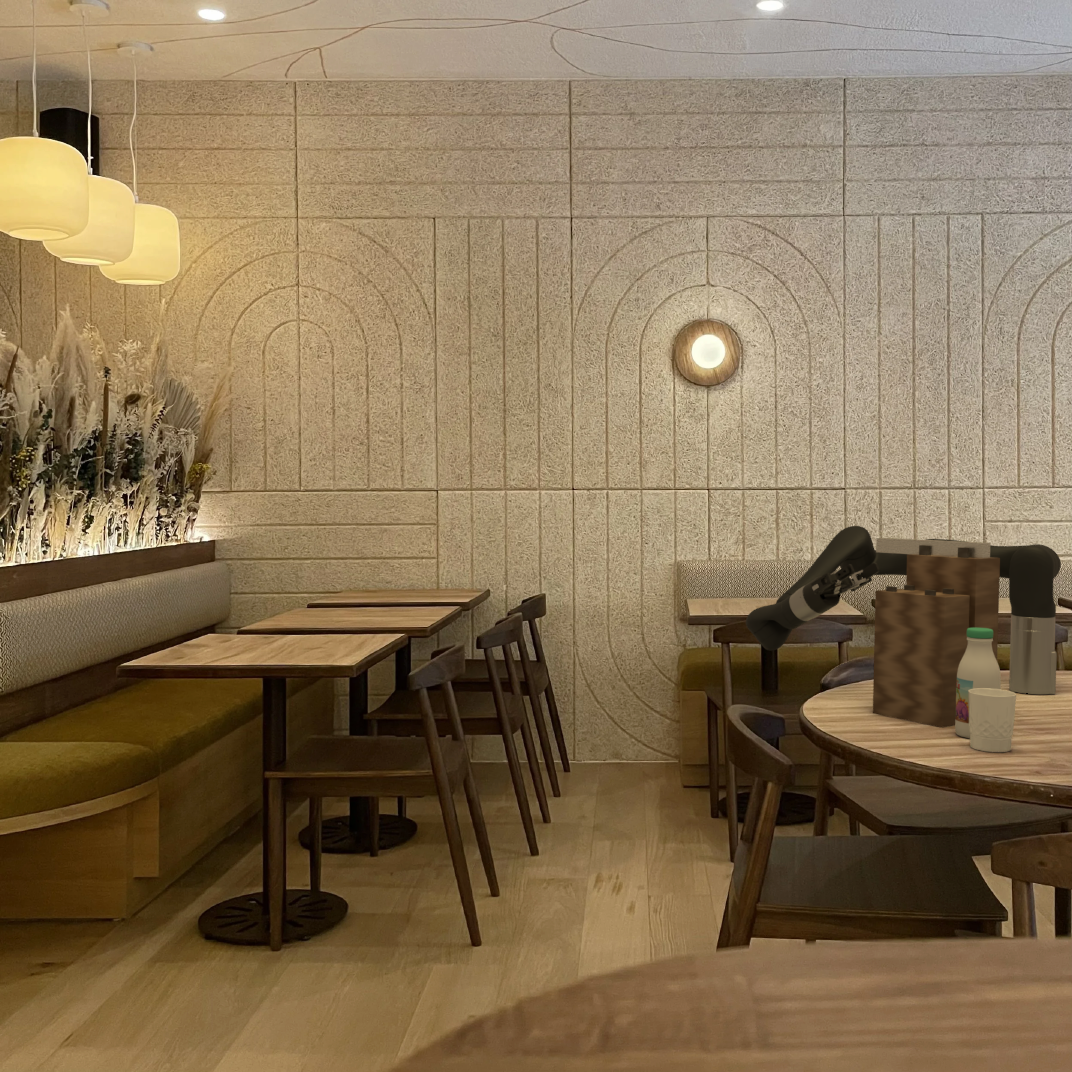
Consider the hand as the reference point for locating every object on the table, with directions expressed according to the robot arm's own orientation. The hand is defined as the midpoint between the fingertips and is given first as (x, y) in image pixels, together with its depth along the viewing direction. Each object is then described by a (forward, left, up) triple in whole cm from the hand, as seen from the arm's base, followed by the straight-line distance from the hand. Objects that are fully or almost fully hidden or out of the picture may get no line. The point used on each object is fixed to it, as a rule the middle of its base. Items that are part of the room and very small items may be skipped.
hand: (865, 567), depth 250 cm
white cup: (-20, +46, -29) cm, 58 cm away
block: (-13, +11, +4) cm, 17 cm away
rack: (-13, +18, -28) cm, 36 cm away
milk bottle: (-19, +36, -29) cm, 50 cm away
